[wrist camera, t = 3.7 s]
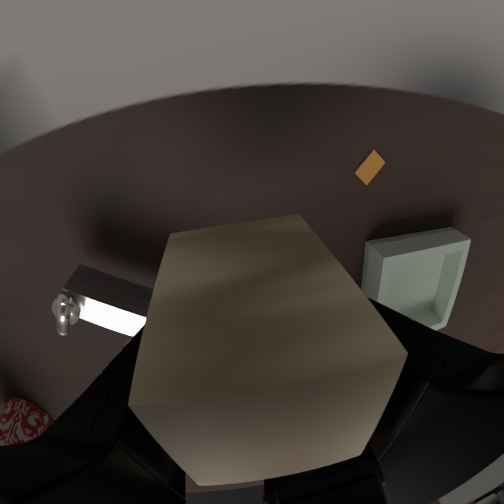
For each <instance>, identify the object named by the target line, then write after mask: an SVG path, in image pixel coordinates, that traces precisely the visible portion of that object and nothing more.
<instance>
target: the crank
mask: <svg viewBox="0 0 504 504" xmlns="http://www.w3.org/2000/svg"><path fill="white" fill-rule="evenodd" d="M153 290H154V289H151V288H148V287H145V286H142V285H139V284H136V283H133V282H130V281H127V280H124V279H121V278H118V277H115V276H112V275H109V274H106V273H104V272H101V271H98V270H95V269H93V268H90V267H87V266H84V265H82V264H80V265H79V266H78V267H77V269H76V270H75V271H74V273H73V274H72V276H71V277H70V278H69V280H68V281H67V283H66V284H65V285H64V287H63V291H61V292H59V293H58V294H57V297H56V299H55V300H54V302H53V303H52V311H53V313H54V315H55V316H56V329H57V332H58V333H59V334H60V335H61V336H66V335H68V334H69V333H70V325H71V324H75V323H76V322H77V321H78V319H79V318H81V319H84V320H86V321H89V322H92V323H94V324H97V325H100V326H103V327H106V328H109V329H111V330H114V331H117V332H120V333H124V334H127V335H130V336H134V335H135V334H136V333H137V332H138V331H139V330H140V329H141V328H142V326H143V325H144V324H145V321H146V317H147V313H148V309H149V305H150V301H151V298H152V294H153Z"/></svg>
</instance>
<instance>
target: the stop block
mask: <svg viewBox="0 0 504 504" xmlns="http://www.w3.org/2000/svg"><path fill="white" fill-rule="evenodd" d="M407 355H408V353H407V351H406V350H405V348H404V347H403V345H402V344H401V343H400V341H399V340H398V339H397V337H396V336H395V334H394V333H393V332H392V330H391V329H390V328H389V326H388V325H387V323H386V322H385V321H384V319H383V318H382V317H381V315H380V314H379V313H378V311H377V310H376V309H375V307H374V306H373V305H372V303H371V302H370V301H369V300H368V298H367V297H366V296H365V294H364V293H363V292H362V290H361V289H360V288H359V287H358V285H357V284H356V283H355V281H354V280H353V279H352V278H351V276H350V275H349V274H348V273H347V271H346V270H345V269H344V268H343V266H342V265H341V264H340V263H339V261H338V260H337V259H336V258H335V257H334V255H333V254H332V253H331V252H330V250H329V249H328V248H327V247H326V246H325V244H324V243H323V242H322V241H321V240H320V238H319V237H318V236H317V235H316V234H315V232H314V231H313V230H312V229H311V228H310V227H309V225H308V224H307V223H306V222H305V221H304V220H303V218H302V217H301V216H300V215H299V214H296V215H288V216H281V217H274V218H267V219H260V220H253V221H246V222H240V223H233V224H226V225H220V226H214V227H207V228H201V229H195V230H189V231H183V232H177V233H171V234H170V236H169V239H168V242H167V245H166V249H165V252H164V255H163V258H162V262H161V265H160V269H159V272H158V276H157V279H156V283H155V286H154V290H153V294H152V298H151V301H150V305H149V309H148V313H147V317H146V321H145V325H144V329H143V334H142V338H141V342H140V347H139V351H138V356H137V361H136V366H135V370H134V375H133V381H132V386H131V391H130V397H129V403H128V406H129V407H130V408H131V410H132V411H133V412H134V414H135V415H136V416H137V418H138V419H139V420H140V421H141V423H142V424H143V425H144V426H145V428H146V429H147V430H148V431H149V433H150V434H151V435H152V436H153V437H154V439H155V440H156V441H157V442H158V443H159V444H160V446H161V447H162V448H163V449H164V450H165V451H166V452H167V453H168V454H169V456H170V457H171V458H172V459H173V460H174V461H175V462H176V463H177V464H178V465H179V466H180V467H181V468H182V469H183V470H184V471H185V472H186V473H187V474H188V475H189V476H190V477H191V478H192V479H193V480H194V481H195V482H196V483H197V484H198V485H199V486H205V485H221V484H232V483H242V482H250V481H257V480H263V479H270V478H275V477H281V476H286V475H291V474H295V473H300V472H304V471H308V470H312V469H316V468H320V467H324V466H327V465H331V464H334V463H338V462H341V461H344V460H347V459H350V458H353V457H356V456H359V455H361V453H362V452H363V450H364V448H365V446H366V444H367V443H368V441H369V439H370V437H371V435H372V433H373V432H374V430H375V428H376V426H377V424H378V422H379V420H380V418H381V416H382V414H383V412H384V410H385V408H386V405H387V403H388V401H389V399H390V397H391V394H392V392H393V390H394V388H395V385H396V383H397V381H398V378H399V376H400V373H401V371H402V368H403V366H404V363H405V360H406V358H407Z"/></svg>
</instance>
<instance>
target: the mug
mask: <svg viewBox="0 0 504 504" xmlns="http://www.w3.org/2000/svg"><path fill="white" fill-rule="evenodd" d="M52 423H53V420H52V419H51V418H50V417H49V416H48V415H47V414H46V413H45V412H44V411H43V410H41V409H40V408H39V407H37V406H36V405H34V404H32V403H30V402H29V401H26V400H24V399H22V398H18V397H11V398H10V399H9V400H8V402H7V404H6V406H5V408H4V410H3V412H2V414H1V416H0V446H4V445H12V444H19V443H24V442H27V441H30V440H32V439H34V438H36V437H37V436H39V435H40V434H41V433H42V432H44V431H45V430H46V429H47V428H48V427H49V426H50V425H51V424H52Z"/></svg>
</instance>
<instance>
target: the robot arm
mask: <svg viewBox="0 0 504 504" xmlns="http://www.w3.org/2000/svg"><path fill="white" fill-rule="evenodd" d="M366 297H367V296H366ZM367 298H368V300H369V301H370V302H371V303H372V305H373V306H374V307H375V309H376V310H377V311H378V313H379V314H380V315H381V317H382V318H383V319H384V321H385V322H386V323H387V325H388V326H389V328H390V329H391V330H392V332H393V333H394V334H395V336H396V337H397V339H398V340H399V341H400V343H401V344H402V345H403V347H404V348H405V350H406V351H407V353H408V355H407V358H406V360H405V363H404V366H403V368H402V371H401V373H400V376H399V378H398V381H397V383H396V385H395V388H394V390H393V392H392V394H391V397H390V399H389V401H388V403H387V405H386V408H385V410H384V412H383V414H382V416H381V418H380V420H379V422H378V424H377V426H376V428H375V430H374V432H373V433H372V435H371V437H370V439H369V441H368V443H367V444H366V446H365V448H364V450H363V452H362V453H361V455H359V456H356V457H353V458H350V459H347V460H344V461H341V462H338V463H334V464H331V465H327V466H324V467H320V468H316V469H312V470H308V471H304V472H300V473H295V474H291V475H286V476H281V477H275V478H270V479H264V496H263V501H264V504H388V503H387V500H386V496H385V493H384V490H383V487H382V485H384V484H386V483H387V486H388V488H389V490H390V493H391V495H392V498H393V500H394V502H395V504H431V503H432V502H434V501H436V500H439V503H440V504H504V354H497V353H491V352H488V351H485V350H483V349H480V348H478V347H475V346H473V345H470V344H468V343H465V342H462V341H460V340H457V339H455V338H452V337H450V336H448V335H445V334H443V333H440V332H438V331H436V330H434V329H432V328H430V327H427V326H425V325H423V324H421V323H419V322H417V321H415V320H412V319H411V318H409V317H407V316H405V315H403V314H401V313H399V312H397V311H395V310H393V309H391V308H389V307H387V306H385V305H383V304H381V303H379V302H377V301H375V300H373V299H371V298H369V297H367ZM144 325H145V324H144ZM144 325H143V326H142V328H141V329H140V330H139V331H138V332H137V333H136V334H135V335H134V336H133V338H132V339H131V340H130V341H129V342H128V343H127V344H126V345H125V346H124V348H123V349H122V350H121V351H120V352H119V353H118V354H117V355H116V357H115V358H114V359H113V360H112V361H111V362H110V363H109V364H108V366H107V367H106V368H105V369H104V370H103V371H102V374H100V375H99V376H98V377H97V378H96V379H95V380H94V381H93V383H92V384H91V385H90V386H89V387H88V388H87V389H86V390H85V391H84V392H83V394H82V395H81V396H80V397H79V398H78V399H77V400H76V401H75V402H74V403H73V404H72V405H71V406H70V407H69V408H67V409H66V410H65V411H64V412H63V413H62V414H61V415H60V416H59V417H58V418H57V419H56V420H55V421H54V422H53V423H52V424H51V425H50V426H49V427H48V428H47V429H46V430H45V431H44V432H42V433H41V434H40V435H39V436H37V437H36V438H34V439H32V440H30V441H27V442H24V443H19V444H12V445H4V446H0V504H186V500H185V471H184V470H183V469H182V468H181V467H180V466H179V465H178V464H177V463H176V462H175V461H174V460H173V459H172V458H171V457H170V456H169V454H168V453H167V452H166V451H165V450H164V449H163V448H162V447H161V446H160V444H159V443H158V442H157V441H156V440H155V439H154V437H153V436H152V435H151V434H150V433H149V431H148V430H147V429H146V428H145V426H144V425H143V424H142V423H141V421H140V420H139V419H138V418H137V416H136V415H135V414H134V412H133V411H132V410H131V408H130V407H129V406H128V403H129V397H130V391H131V386H132V381H133V375H134V370H135V366H136V361H137V356H138V351H139V347H140V342H141V338H142V334H143V329H144Z"/></svg>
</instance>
